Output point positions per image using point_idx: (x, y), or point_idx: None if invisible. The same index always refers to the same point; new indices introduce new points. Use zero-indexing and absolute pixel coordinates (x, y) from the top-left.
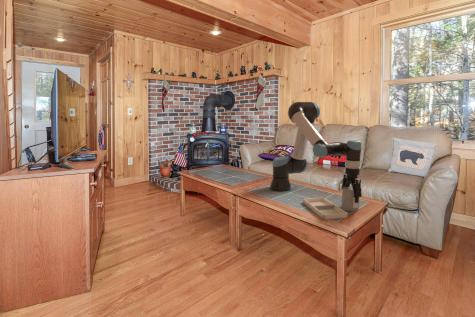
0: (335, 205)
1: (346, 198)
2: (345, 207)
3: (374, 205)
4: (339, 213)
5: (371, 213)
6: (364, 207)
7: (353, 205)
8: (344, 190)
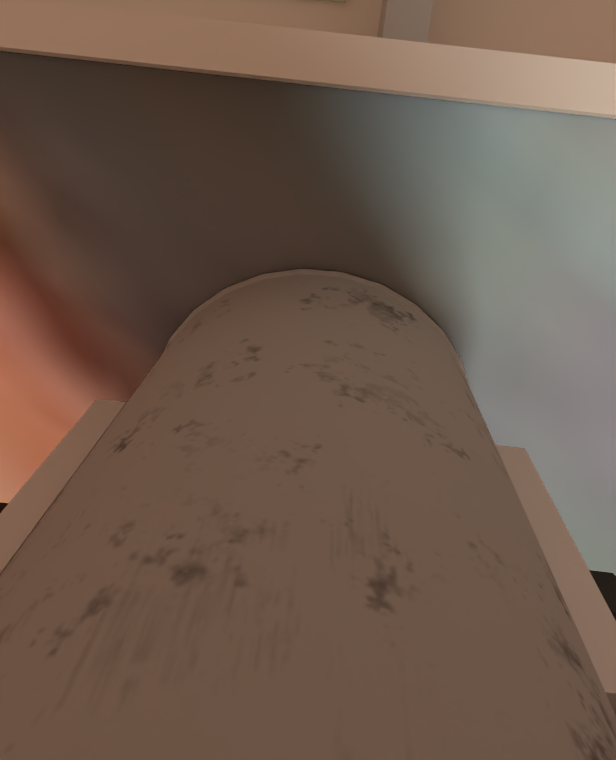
0: (333, 50)
1: (155, 422)
2: (237, 301)
3: None
4: None
5: None
6: None
7: (72, 431)
8: (182, 676)
